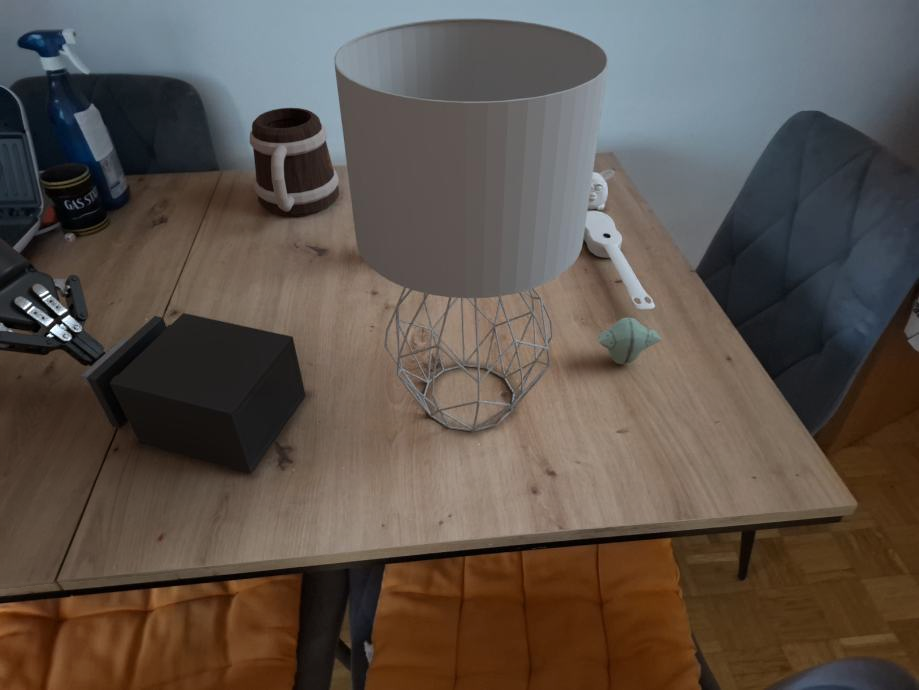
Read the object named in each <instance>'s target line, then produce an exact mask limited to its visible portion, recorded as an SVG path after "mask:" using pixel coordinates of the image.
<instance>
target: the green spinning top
mask: <svg viewBox="0 0 919 690" xmlns="http://www.w3.org/2000/svg"><path fill="white" fill-rule="evenodd" d="M661 341H663V339H662V337H661V336H660V335H659V333H658V332H657V330H653V329H649V328H647V327H646V326H644V325H642V324H641V323H640V322H639V321H638V320H637V319H636V318H632V317H624V318H620V319H619V320H618V321H616V322H615V323H614V324H612V326H610V327H609V328H608V329H607V330H604V331H600V332H599V336H598V343H599V344H600V345H601V346H602V347H604V348H605V349H607V350H608V353H609V356H610V358H611V359H612V360H613V361H614V362H615V363H616V364H619V365H627V364H631V363H633V362H634V361H635V360H637V359H638V357H639V356H640V355H641V353H642V352H643V351H645V350H646V349H647V348H649V347H652V346H653V345H656V344H657V343H659V342H661Z"/></svg>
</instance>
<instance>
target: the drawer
mask: <svg viewBox="0 0 919 690" xmlns="http://www.w3.org/2000/svg"><path fill="white" fill-rule="evenodd" d="M170 325H171V324H168V325H167V324H166V322H165V319H164V317H162V316H158V315H154V316H153V317H151V319H149V320H148V321H147V322H146V323H145V324H143V326H142V327H140V329H138V330H137V331H136V332H135V333H134V334H133V335H132V336H131V337H130V338H126V337H122V338H121V339H120V340H119V341H117V342H116V344H114V345H113V346H112V347H110V349H108V351H105V354H104V355H103V356H102V357H101V358H100V359H99V360H98V361H96V362H95V363H94V364H93V365H92V366H89V367H88V368H87V369H86V370H85V371H84V372H83V373H82V374H81V375H80V380H81V381H82V382H83V383H84V384H86V385H88V386H90V388H91V390H92V392H93V393H94V395H95V397H96V399H97V401H98V403H99V405H100V407H101V409H102V411H103V412H104V414H105V416H106V418H107V420H108V422H109V424H110V426H111V427H112V428H115V429H120V430H121V429H122V428H123V427H124V426H125V425H126V424H127V423H128V420H127V418H126V416H125V414H124V412H123V410H122V408H121V406H120V404H119V402H118V400H117V398H116V396H115V394H114V392H113V389H112V387H111V385H110V382H111V381H112V380H113V379H114V378H115V377H116V376H117V375H119V374H120V373H121V372H122V371H123V370H124V369H125V368H126V367H127V366H128V365H129V364H130V363H131V362H132V361H133V360H134V359H135V358H136V357H138V356H139V355H140V354H141V353H142V352H143V351H144V350H145V349H146V348H147V347H148V346H149V345H150V344H151V343H152V342H153V341H154V340H155V339H156V338H158V337H159V336H160V335H161V334H162V333H163V332H164V331H165V330H166V329H167V328H168V327H169V326H170Z"/></svg>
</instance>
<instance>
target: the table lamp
mask: <svg viewBox="0 0 919 690" xmlns="http://www.w3.org/2000/svg"><path fill="white" fill-rule="evenodd" d="M333 60H334V62H333V63H334V72H335V79H336V88H337V95H338V96H337V97H338V104H339V113H340V119H341V128H342V136H343V144H344V152H345V153H344V154H345V161H346V168H347V177H348V184H349V185H348V186H349V193H350V200H351V209H352V216H353V224H354V234H355V241H356V247H357V250H358V253H359V254H360V256H361V258H362V259H363V261H364V263H366V264H367V265H368V267H370V268H371V269H372V270H373V271H374V272H375V273H376V274H378V275H379V276H381V277H382V278H384V279H386V280H387V281H389V282H391V283H394V284H395V285H398V286H401V287H402V288H403V289H402V292H401V294H400V296H399V299H398V300H397V303H396V307H395V309H394V311H393V313H392V316H391V318H390V320H389V322H388V325H387V327H386V329H385V337H384V348H385V349H386V351H387V352H388V355H390V357H391V359H392V360H393V361H394V363H395V364H396V376H397V378H398V379H399V380H400V382H401V383H402V385H404V387H405V388H406V389H407V391H408V392H409V393H410V394H411V396H412V397H413V398H414V399H415V400H416V401H417V403H418V404H419V405H420V406H421V408H422V409H423V410H424V411H425V412H426V414H428V416H429V417H430V418H432V419H433V420H435V421H437V422H438V423H439V424H441V425H443V426H444V427H446V428H448V429H450V430H451V429H452V430H457V431H458V430H459V431H466V432H477V431H478V432H479V431H481V430H484V429H488V428H491V427H496V426H498V425H499V424H500V423H501V422H502V421H503V420H504V419H505V418H506V417H507V416H508V415H509V414H510V413H512V412H513V411H514V409H515V408H516V407H517V406H518V405H519V403H520V402H522V400H523V399H524V398H525V397H526V396H527V395H528V393H529V392H530V391H531V390H532V389H533V387H534V386H536V384H537V383H538V381H539V380H540V379H541V378H542V376H543V375H544V373H546V371H548V369H549V368H550V366H551V358H550V348H549V347H550V346H549V344H550V342H551V340H552V339H553V337H554V331H553V320H552V319H551V315H550V314H549V311H548V309H547V307H546V304H545V302H544V299H543V298H542V296H541V295H540V294H539V292H538V291H537V290H536V289H535V288H539V287H541V286H543V285H546V284H547V283H550V282H551V281H553V280H555V279H557V278H558V277H560V276H561V275H563V274H564V273H565V272H566V271H568V270H569V269H570V268H571V267H572V266H573V265H574V264H575V262H576V260H577V259H578V258H579V256H580V254H581V251H582V249H583V243H584V239H583V237H584V230H585V224H586V217H587V211H589V210H588V203H589V196H590V189H591V182H592V175H593V172H594V168H595V159H596V155H597V146H598V139H599V132H600V126H601V120H602V113H603V105H604V98H605V92H606V85H607V84H606V83H607V77H608V70H609V64H610V59H609V55H608V53H607V52H606V50H605V49H604V48H603V47H602V46H601V45H600V44H598V43H596V42H595V41H593V40H592V39H589V38H588V37H585V36H583V35H581V34H578V33H577V32H576V33H575V32H573V31H569V30H567V29H562V28H559V27H554V26H551V25H545V24H541V23H535V22H528V21H522V20H512V19H511V20H510V19H499V18H498V19H497V18H479V17H477V18H475V17H473V18H468V17H466V18H461V17H460V18H459V17H458V18H441V19H440V18H439V19H427V20H421V21H419V20H418V21H413V22H411V21H410V22H405V23H400V24H394V25H389V26H386V27H383V28H377V29H375V30H371V31H369V32H365V33H363V34H361V35H359V36H355V37H354V38H352V39H350V40H348V41H346V43H344V44H343V45H341V47H339V48H338V50H337V51H336V53H335V55H334V58H333ZM406 289H408V290H407V292H406ZM412 291H415V292H417V293H418V292H419V293H422V294H423V299H422V301H421V303H420V304H419V307H418V308H417V310H416V312H415V313H414V316H413V317H412V319H411V320H410V321H407V320H404V319H400V306H401V305H402V303H403V302H404V301H405V300H406V299H407V297H408V296H409V295H410V294H411V293H412ZM532 291H533V292H532ZM405 292H406V294H405ZM522 292H524V293H525V294H526V295H528V296H529V297H530V298H531V305H530V304H529V303H528V301H527V300H526V297H525V296H524V295H523V293H522ZM533 293H534V294H535V295H536V296H534V295H533ZM515 294H519V295H520V297H521V299H522V301H523V302H524V304H525V305H526V307H527V309H528V311H529V312H526V313H524V314H521V315H518V316H515V317H513V318H510V319H509V316H508V314H507V311H506V307H505V305H504V302H503V299H502V297H504V296H509V295H515ZM429 295H431V296H438V297H444V298H448V301H447V305H446V309H445V312H444V313H443V314H442V315H441V316H440V318H439V319H438V320H437V322H436V323H435V325H433V324H432V320H431V317H430V313H429V310H428V309H429V308H428V306H427V301H426V300H427V298H428V297H429ZM496 297H497V298H498V302H497V308H496V313H495V319H494V321H492V320H491V319H490V318H489V317H488V316H487V315H486V314H485V313H484V312H483V311H482V310H481V309H480V308H479V307H478V303H477V301H478V300H477V299H485V298H486V299H487V298H496ZM452 298H453V299H454V298H455V299H454V300H453V301H452ZM458 299H460V301H461V302H460V306H461V307H460V308H461V335H462V359H463V360H462V359H461V358H460V356H458V354H456V352H454V350H453V349H452V348H451V347H450V346H449V345H448V344H447V343H446V341H444V340H443V338H442V337H443V334H444V329H445V325H446V322H447V318H448V314H449V311H450V309H451V308H452V307H453V306H454V304H456V302H457V301H458ZM464 299H466V300H467V301H469V303H470V304H471V305H472V306H473V307H474V322H475V323H474V324H475V342H476V343H475V345H476V348H475V349H474V350H473V352H472V353H471V354H470V356H469V357H468V358H467V360H466V350H465V346H466V345H465V323H464V320H465V319H464ZM471 299H473V300H471ZM535 300H539V303H540V309H541V317H542V325H543V328H542V326H541V323H540V322H541V321H539V319H538V317H537V315H536V314H535V313H536V311H535ZM451 301H452V303H451ZM473 301H474V302H473ZM423 306H424V307H425V311H426V315H427V320H428V322H429V326H430V327H427V326H424V325H421V324H417V323H415V321H416V319H417V317H418V315H419V313H420V311H421V309H422V308H423ZM500 306H501V308H502V309H501V310H502V311H503V316H504V318H505V321H502V322H500V323H497V322H498V317H499V313H500V312H499V311H500ZM478 312H479V313H480V314H481V315H482V316H483V318H485V319H486V320H487V321H488V322H489V323H490V324H491V326H493V327H492V328H491V329H490V330H489V332H487V334H486V335H485V336H484V338H483V339H482V340H481V342H480V341H479V339H480V338H479V324H478V323H479V321H478V320H479V319H478ZM545 313H546V314H545ZM528 315H530V316H529V319H528V321H527V323H526V326H525V327H524V330H523V333H522V335H521V337H520V340H518V339H516V336H515V334H514V331H513V328H512V325H511V322H513V321H515V320H518V319H520V318H523V317H526V316H528ZM545 315H546V316H547V319H548V321H549V329H550V337H549V338H548V332H547V326H546V319H545V317H546V316H545ZM394 320H395V329H396V340H397V359H396V358H395V356H394V354H393V353H392V352H391V350H390V349H389V347H388V346H387V344H388V335H389V331H390V328H391V326H392V323H393V321H394ZM441 321H442V325H441V329H440V331H439V332H440V333H439V334H438V333H437V332H436V331H435V330H434V329H436V327H437V326H438V325H439V324H440V322H441ZM531 321H532V326H533V327H532V329H533V343H531V342H527V341H523V340H524V337H525V335H526V332H527V330H528V329H529V325H530V323H531ZM400 322H401V323H404V324H408V327H407V328H406V331H405V332H404V329H403V328H402V326H401V324H400ZM536 323H537V326H538V329H539V331H540V334H541V337H542V340H543V343H544V346H543V345H539V344H537V335H536V333H537V332H536ZM504 324H507V326H508V329H509V332H510V335H511V337H512V340H513V341H512V342H511V343H510V344H509V345H508V347H507V348H506V349H505V350H504V351H503V352H502V351H501V345H500V340H499V335H498V331H497V327H499V326H501V325H504ZM412 326H415V327H418V328H422V329H425V330H428V331H430V340H429V341H430V342H429V343H430V344H429V346H428V347H425V348H422V349H419V350H416V351H414V350H413V348H412V346H411V345H410V342H409V340H408V336H409V333H410V330H411V328H412ZM400 332H401V335H402V336H403V341H402V344H401V342H400V341H401V340H400V339H401V338H400V337H401V335H400ZM491 333H492V334H491ZM490 334H491V338H490V343H489V349H488V354H487V358H486V363H485V366H482V365H481V364H480V347H481V346H482V345H483V343H484V342H485V341H486V339H487V338H488V337H489V336H490ZM494 336H495V340H496V345H497V349H498V355H499V357H498V358H497V359H496V360H495V361H494V363H493V364H491V366H490V367H488V366H489V362H490V357H491V351H492V348H493V342H494ZM436 337H437V338H438V341H437V338H436ZM433 341H434V345H433ZM441 342H442V344H444V346H445V347H446V348H447V349H448V350H449V351H450V352H451V353H452V354H453V355H454V356H455V357H453V356H452V355H451V354H450V353H449V352H448V351H446V349H445V348H443V347H442V346H441ZM406 344H407V346H408V349H409V350H410V352H409V353H406V354H403V350H404V348H405V345H406ZM521 345H525V346H530V347H534V360H532V361H531V362H529V363H527V364H525V365H523V366H522V363H521V358H520V354H519V353H520V352H519V348H520V346H521ZM513 346H514V348H515V349H514V350H515V351H514V353H513V356H512V358H511V360H510V362H509V364H508V367H507V369H506V371H505V367H504V363H503V357H504V356H505V355H506V354H507V352H508V351H509V350H510V349H511V348H512V347H513ZM537 348H538V349H541V351H540V352H539V354H537V351H538V350H537ZM432 349H436V350H435V356H434V357H435V358H434V363H433V368H432V375H431V363H432ZM440 350H441V351H442V352H443V353H444V354H445V355H446V356H447V357H448V358H450V360H452V361H453V362H454V363H455V364H456V366H452V367H448V368H444V364H443V361H442V356H441V353H440ZM426 351H429V354H428V367H427V375H426V374H425V372H424V370H423V368H422V366H421V363H420V362H419V360H418V358H417V356H416V355H417V354H419V353H423V352H426ZM544 351H546V356H547V358H546V359H547V362H546V361H545V362H544V361H541V360H539V359H540V357H541V356H542V354H543V353H544ZM475 354H476V362H477V363H476V365H472V364H468V363H469V361H470V360H471V358H472V357H473V356H474V355H475ZM409 356H413V358H414V361H415V363H416V364H417V366H418V368H419V370H420V372H421V374H422V375H423V377H420V376H418V375H416V374H414V373H413V372H410V371H408V370H406V369H404V368H403V362H402V359H403V358H405V357H409ZM455 358H456V359H457V360H456V359H455ZM515 358H517V363H518V367H519V368H518V369H516V370H514V371H512V372H511V373H509V371H510V369H511V366H512V365H513V362H514V360H515ZM438 360H439V363H440V366H441V367H440V368H441V370H440V371H439V372H438V373H437V374H436V369H437V363H438ZM499 362H500V365H501V371H502V374H500V373H498V371H495V370H493V368H494V367H495V366H496V365H498V363H499ZM537 363H539V364H541V365H543V366H544V365H545V367H544V368H543V369H542V370H541V371H540V373H538V374H537V376H536V377H535V378H534V379H533V380H532V381H531V382H530V383H529V384H528V385H527V386H526V384H527V382H528V380H529V379H530V376H531V374H532V372H533V370H534V368H535V366H536V364H537ZM529 366H530V367H529ZM465 367H467V368H476V369H477V370H476V371H477V372H476V373H477V378H476V377H475V376H474V375H473V374H472V373H471V372H470V371H468V369H466V368H465ZM527 367H529V369H528V370H527V372H526V373H525V375H524V372H523V370H524V369H526V368H527ZM459 368H461V369H462V370H463V371H464V372H465V373H466V374H467V375H468V376H469V377H470V378H472V379H473V381H475V382H476V383H477V400H474V401H470V402H466V403H461V404H457V405H452V406H447V407H444V408H440V406H439V404H438V402H437V400H436V398H435V396H434V388H435V387H434V386H435V379H436V378H437V377H440V375H441V374H443V373H444V372H446V371H447V372H448V371H450V370H454V369H459ZM480 369H485V370H487V371H486V372H485V373H484V374H483V375H482V376H481V370H480ZM490 372H491V373H493V374H494V375H497V376H498V377H500V378H502V379H503V380H504V381H505V383H506V385H507V387H508V388H509V390H510V391H511V393H512V396H511V403H503V402H495V401H487V400H481V382H482V381H483V380H484V379H485V378H486V377H487V376H488V374H489V373H490ZM518 372H519V373H520V382H519V383H518V384H517V387H516V388H514V389H513V388H512V386H511V384H510V383H509V381H508V380H507V378H509V377H511V376H513V375H514V374H516V373H518ZM400 373H402V375H403V376H401V375H400ZM408 375H409V376H412V377H414V378H415V379H418V380H420V381H422V382H424V383H426V386H425V389H424V392H423V393H422V392H420V391H419V389H418V388H417V387H416V386H415V384H414V383H413V381H412V379H410V377H409V376H408ZM430 376H431V377H430ZM430 383H431V385H430ZM429 385H430V386H431V387H430V397H431V399H432V400H433V402H432V401H431V400H430V399H429V398H428V397H426V394H427V391H428V388H429ZM525 386H526V387H525ZM519 388H520V389H519ZM411 389H412V390H413V391H412V390H411ZM518 389H519V392H518V393H517V391H518ZM516 393H517V395H515V394H516ZM426 401H427V402H426ZM427 403H429V404H430V405H431V406H432V407H433V408H435V411H434V412H432V413H431V411H430V409H429V406H428V404H427ZM474 404H476V409H475V414H474V415H475V416H474V422H473V426H472V427H471V426H469V425H468V424H466V423H464V422H463V421H460V420H459V419H457V418H455V417H454V416H453V415H451V414H449V413H447V412H445V411H447V410H452V409H456V408H460V407H465V406H469V405H474ZM480 404H485V405H486V404H487V405H495V406H502V407H503V406H504V407H505V408H503V409H502V410H500V411H498V412H497V413H495V414H494V415H493V416H491V417H490V418H488V419H486V420H485V421H483V422H482V423H481V424H479V425H477V421H478V416H479V410H480ZM437 413H439V414H440V416H441V417H442V419H443V421H444V422H443V421H442V420H441V419H439V418H437V417H435V416H434V415H436V414H437ZM501 414H502V415H501ZM499 415H501V416H500V417H499V419H498V420H497V421H496V423H493V424H488V425H486V424H487V423H488V422H490V421H493V419H495V418H497V417H498V416H499ZM446 416H447V417H448V418H450V419H451V420H452V421H453V420H454V421H455V422H456V423H458V424H460V425H462V426H464V427H465V428H464V427H457V426H450V424H449V422H448V420H447V418H446ZM476 425H477V426H476ZM484 425H486V426H484Z"/></svg>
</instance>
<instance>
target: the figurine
mask: <svg viewBox="0 0 919 690" xmlns="http://www.w3.org/2000/svg"><path fill="white" fill-rule="evenodd" d="M614 176H615V171H614V170H613V169H606V170H603V171H600V172H595V171H593V175H592V182H591V189H590V196H589V203H588V210H587V211H591V210H595V211H599V212H600V211H603V210H604V209H605V208H606V206H605V204H606V202H607V199H608V195H609V188H608V183H607V181H608V180H610V179H612V178H613V177H614Z"/></svg>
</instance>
